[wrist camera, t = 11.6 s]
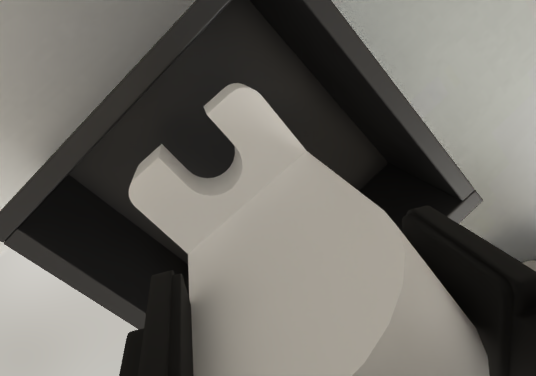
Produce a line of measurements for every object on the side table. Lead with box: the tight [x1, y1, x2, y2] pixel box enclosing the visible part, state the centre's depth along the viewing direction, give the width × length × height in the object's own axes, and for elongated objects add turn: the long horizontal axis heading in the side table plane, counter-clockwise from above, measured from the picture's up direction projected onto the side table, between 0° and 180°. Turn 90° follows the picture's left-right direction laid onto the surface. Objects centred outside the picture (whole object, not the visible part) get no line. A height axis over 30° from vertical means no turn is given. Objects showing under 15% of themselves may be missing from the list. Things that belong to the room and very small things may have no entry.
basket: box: [0, 0, 483, 329], centre depth 20 cm, size 15×15×8 cm
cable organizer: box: [129, 83, 490, 376], centre depth 11 cm, size 5×10×10 cm, turn 40°
